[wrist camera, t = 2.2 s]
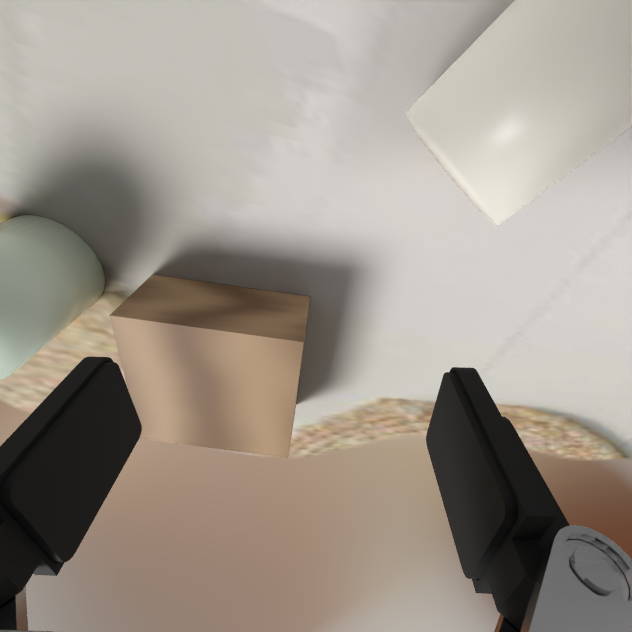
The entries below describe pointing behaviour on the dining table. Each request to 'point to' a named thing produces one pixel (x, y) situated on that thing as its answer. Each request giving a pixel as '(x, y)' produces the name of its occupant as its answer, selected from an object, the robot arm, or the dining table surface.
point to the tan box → (213, 363)
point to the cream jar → (530, 100)
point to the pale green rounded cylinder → (41, 285)
